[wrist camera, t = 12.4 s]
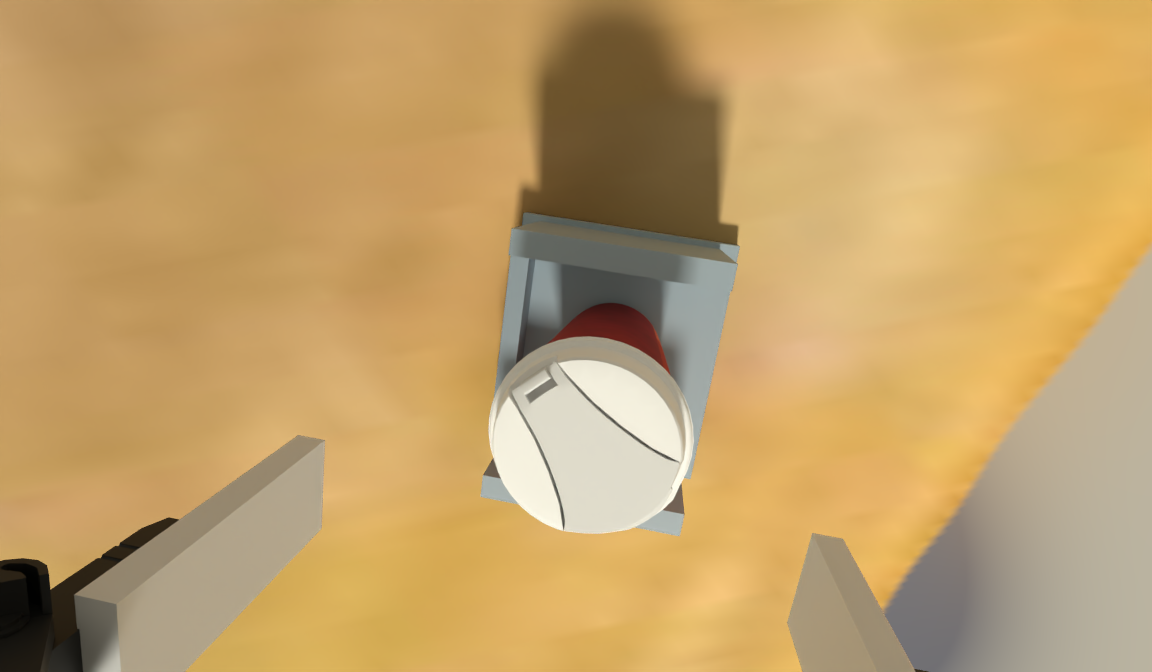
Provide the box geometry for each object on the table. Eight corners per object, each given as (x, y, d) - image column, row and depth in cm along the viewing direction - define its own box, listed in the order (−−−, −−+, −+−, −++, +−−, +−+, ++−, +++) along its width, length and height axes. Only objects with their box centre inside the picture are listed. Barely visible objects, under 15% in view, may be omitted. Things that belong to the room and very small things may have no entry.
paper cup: (519, 332, 35) (436, 421, 22) (628, 256, 33) (611, 301, 20) (597, 437, 36) (564, 585, 22) (706, 369, 34) (741, 485, 21)
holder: (527, 212, 34) (490, 218, 27) (737, 244, 33) (762, 260, 26) (499, 435, 38) (460, 498, 30) (689, 471, 37) (698, 545, 29)
